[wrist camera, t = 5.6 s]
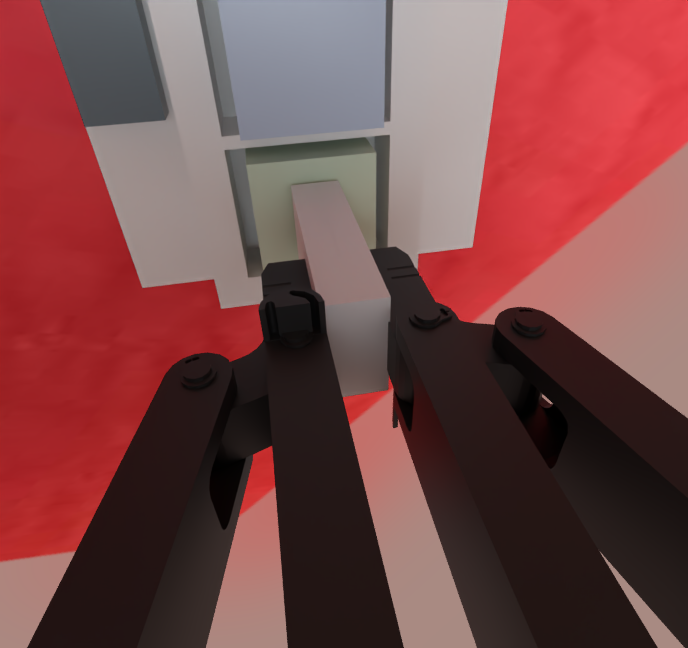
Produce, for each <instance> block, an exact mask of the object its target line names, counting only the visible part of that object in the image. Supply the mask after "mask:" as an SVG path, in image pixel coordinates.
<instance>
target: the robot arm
mask: <svg viewBox="0 0 688 648" xmlns="http://www.w3.org/2000/svg"><path fill="white" fill-rule="evenodd" d="M291 193H292V202H293V211H294V220H295V229H296V239H297V248H298V257H299V260H291V261H282V262H274V263H268V264H267V266H266V267H265V269H264V270H263V272H262V274H261V279H262V292H263V300H262V301H261V302H260V306H259V315H260V321H261V326H262V332H263V337H264V340H263V342H262V343H261V345H260V346H259V347H258V348H257V349H256V350H254V351H253V352H251V353H250V354H248V355H246V356H244V357H242V358H240V359H237V360H234V361H232V362H229V360H228V359H227V358H225V357H223V356H221V355H220V354H214V353H200V354H194V355H191V356H189V357H186V358H183V359H181V360H180V361H179V362H177V363H176V364H174V365H173V366H172V367H171V368H170V369H169V371H168V372H167V373H166V374H165V376H164V378H163V380H162V382H161V384H160V386H159V388H158V390H157V392H156V394H155V396H154V398H153V400H152V402H151V404H150V406H149V408H148V410H147V412H146V414H145V416H144V418H143V420H142V422H141V424H140V426H139V428H138V430H137V432H136V434H135V436H134V437H133V439H132V441H131V443H130V445H129V447H128V449H127V451H126V453H125V455H124V457H123V459H122V461H121V463H120V465H119V467H118V469H117V471H116V473H115V475H114V477H113V479H112V481H111V483H110V485H109V487H108V489H107V491H106V493H105V495H104V497H103V499H102V501H101V503H100V505H99V507H98V509H97V511H96V513H95V515H94V517H93V519H92V521H91V523H90V525H89V527H88V529H87V530H86V532H85V534H84V536H83V538H82V540H81V542H80V544H79V546H78V548H77V550H76V552H75V554H74V556H73V558H72V560H71V562H70V564H69V566H68V568H67V570H66V572H65V574H64V576H63V578H62V580H61V582H60V584H59V586H58V588H57V590H56V592H55V594H54V596H53V598H52V600H51V602H50V604H49V606H48V608H47V610H46V612H45V614H44V616H43V618H42V620H41V622H40V623H39V626H38V628H37V630H36V631H35V633H34V635H33V637H32V640H31V641H30V643H29V645H28V647H27V648H206V644H207V640H208V636H209V633H210V629H211V624H212V621H213V617H214V613H215V608H216V604H217V601H218V596H219V593H220V589H221V585H222V581H223V576H224V572H225V569H226V565H227V561H228V557H229V553H230V549H231V545H232V541H233V537H234V533H235V529H236V525H237V520H238V517H239V513H240V509H241V505H242V501H243V497H244V493H245V489H246V485H247V481H248V477H249V473H250V469H251V465H252V461H253V454H255V453H257V452H259V451H261V450H263V449H266V448H268V447H270V446H272V448H273V461H274V474H275V487H276V500H277V513H278V526H279V538H280V551H281V564H282V576H283V577H282V578H283V590H284V604H285V616H286V630H287V643H288V648H404V647H403V643H402V639H401V635H400V631H399V626H398V622H397V618H396V614H395V610H394V606H393V602H392V598H391V594H390V589H389V585H388V581H387V577H386V573H385V569H384V565H383V561H382V557H381V553H380V549H379V545H378V540H377V536H376V532H375V528H374V524H373V520H372V516H371V512H370V507H369V504H368V499H367V495H366V491H365V487H364V483H363V479H362V475H361V471H360V467H359V463H358V458H357V454H356V451H355V446H354V442H353V438H352V434H351V430H350V426H349V421H348V417H347V413H346V409H345V405H344V401H343V397H346V396H352V395H359V394H365V393H371V392H378V391H384V390H388V380H389V377H390V379H391V382H392V385H393V388H394V393H393V420H392V421H393V428H396V427H398V420H399V422H400V425H401V428H402V431H403V434H404V437H405V440H406V443H407V446H408V449H409V452H410V454H411V457H412V460H413V463H414V466H415V469H416V472H417V475H418V478H419V481H420V484H421V486H422V489H423V492H424V495H425V498H426V501H427V504H428V507H429V509H430V512H431V515H432V518H433V521H434V524H435V527H436V530H437V532H438V535H439V538H440V541H441V544H442V547H443V550H444V553H445V556H446V558H447V562H448V565H449V568H450V570H451V573H452V576H453V579H454V582H455V585H456V588H457V591H458V594H459V597H460V599H461V602H462V605H463V608H464V611H465V614H466V617H467V620H468V623H469V625H470V628H471V631H472V634H473V637H474V640H475V643H476V646H477V648H657V646H656V644H655V642H654V641H653V639H652V638H651V636H650V635H649V633H648V631H647V629H646V628H645V626H644V624H643V623H642V621H641V619H640V618H639V616H638V615H637V613H636V611H635V609H634V608H633V606H632V604H631V603H630V601H629V600H628V598H627V596H626V595H625V593H624V591H623V590H622V588H621V586H620V585H619V583H618V581H617V580H616V578H615V576H614V575H613V573H612V571H611V570H610V568H609V566H608V565H607V563H606V562H605V560H604V558H603V557H602V555H601V553H602V554H603V555H604V557H606V559H607V560H608V561H609V562H610V563H611V564H612V566H613V567H614V568H615V569H616V570H617V571H618V572H619V574H620V575H621V576H622V577H623V578H624V579H625V580H626V581H627V583H628V584H629V585H630V586H631V587H632V588H633V589H634V590H635V592H636V593H637V594H638V595H639V596H640V597H641V598H642V600H643V601H644V602H645V603H646V604H647V605H648V606H649V608H650V609H651V610H652V611H653V612H654V613H655V614H656V615H657V617H658V618H659V619H660V620H661V621H662V622H663V623H664V625H665V626H666V627H667V628H668V629H669V630H670V631H671V632H672V634H673V635H674V636H675V637H676V638H677V639H678V640H679V642H680V643H681V644H682V645H683V646H684V647H685V648H688V418H686V417H685V416H684V415H682V414H681V413H680V412H678V411H677V410H676V409H674V408H673V407H672V406H670V405H669V404H668V403H666V402H665V401H664V400H662V399H661V398H660V397H658V396H657V395H656V394H654V393H653V392H651V391H650V390H649V389H648V388H646V387H645V386H644V385H643V384H641V383H640V382H639V381H637V380H636V379H635V378H633V377H632V376H631V375H629V374H628V373H626V372H625V371H624V370H623V369H621V368H620V367H619V366H617V365H616V364H614V363H613V362H612V361H610V360H609V359H608V358H607V357H605V356H604V355H602V354H601V353H600V352H599V351H597V350H596V349H595V348H593V347H592V346H591V345H589V344H588V343H587V342H585V341H584V340H583V339H581V338H580V337H578V336H577V335H576V334H575V333H573V332H572V331H571V330H569V329H568V328H567V327H565V326H564V325H563V324H561V323H560V322H558V321H557V320H556V319H555V318H553V317H552V316H550V315H548V314H546V313H545V312H543V311H540V310H536V309H533V308H526V307H516V308H509V309H506V310H504V311H502V312H501V313H499V315H498V316H497V318H496V320H495V325H491V324H477V323H469V322H463V321H460V320H459V319H458V317H457V315H456V314H455V313H454V312H453V311H452V310H451V309H450V308H448V307H446V306H444V305H442V304H440V303H436V302H435V300H434V299H433V297H432V295H431V293H430V292H429V290H428V288H427V286H426V285H425V283H424V281H423V280H422V278H421V276H419V273H418V271H417V269H416V267H414V264H413V262H412V260H411V259H410V257H409V255H408V254H406V253H405V252H403V251H402V250H400V249H399V248H397V247H396V246H395V247H387V248H378V249H370V250H369V248H368V245H367V243H366V241H365V239H364V237H363V234H362V232H361V230H360V228H359V225H358V223H357V221H356V219H355V217H354V214H353V212H352V210H351V208H350V206H349V203H348V201H347V199H346V197H345V194H344V192H343V190H342V188H341V186H340V183H339V181H338V180H337V181H327V182H318V183H308V184H298V185H291ZM542 394H543V395H544V396H546V397H547V398H548V399H549V400H550V401H551V402H552V403H553V405H552V404H550V403H548V402H547V401H546V400H545V399H544V398H542ZM599 551H600V552H601V553H600V552H599Z"/></svg>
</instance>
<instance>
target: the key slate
mask: <svg viewBox="0 0 688 648" xmlns="http://www.w3.org/2000/svg"><path fill="white" fill-rule="evenodd" d="M217 1H218V7H219V13H220V19H221V25H222V31H223V37H224V43H225V50H226V56H227V62H228V68H229V74H230V80H231V86H232V92H233V98H234V104H235V110H236V116H237V122H238V128H239V134H240V140H241V141H243V140H254V139H265V138H276V137H287V136H298V135H309V134H320V133H331V132H342V131H353V130H364V129H375V128H384V100H385V27H386V0H217Z"/></svg>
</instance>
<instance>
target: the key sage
mask: <svg viewBox="0 0 688 648" xmlns="http://www.w3.org/2000/svg"><path fill="white" fill-rule="evenodd" d="M245 153H246V168H247V174H248V180H249V186H250V192H251V198H252V205H253V211H254V217H255V223H256V229H257V235H258V241H259V247H260V253H261V260H262V266H263V270H264V269H265V267H266V266H267V264H268V263H274V262H282V261H291V260H299V257H298V248H297V239H296V229H295V220H294V211H293V202H292V193H291V185H298V184H308V183H318V182H327V181H337V180H338V181H339V183H340V186H341V188H342V190H343V192H344V194H345V197H346V199H347V201H348V203H349V206H350V208H351V210H352V212H353V214H354V217H355V219H356V221H357V223H358V225H359V228H360V230H361V232H362V234H363V237H364V239H365V241H366V243H367V245H368V248H369V250H370V249H376V151H375V150H374V149H373V147H372V146H371V144H370V143H369V141H368V140H367V139H366V137H361V138H351V139H340V140H329V141H319V142H308V143H297V144H286V145H276V146H265V147H254V148H245Z"/></svg>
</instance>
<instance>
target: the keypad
mask: <svg viewBox="0 0 688 648" xmlns="http://www.w3.org/2000/svg"><path fill="white" fill-rule="evenodd" d="M40 2H41V5H42V7H43V10H44V13H45V16H46V19H47V22H48V24H49V27H50V30H51V33H52V36H53V38H54V41H55V44H56V47H57V50H58V53H59V55H60V58H61V61H62V64H63V67H64V70H65V72H66V75H67V78H68V81H69V84H70V86H71V89H72V92H73V95H74V98H75V101H76V103H77V106H78V109H79V112H80V115H81V118H82V120H83V123H84V126H85V127H86V130H87V132H88V135H89V138H90V141H91V144H92V147H93V149H94V152H95V155H96V158H97V161H98V164H99V166H100V169H101V172H102V175H103V178H104V181H105V183H106V186H107V189H108V192H109V195H110V198H111V200H112V203H113V206H114V209H115V212H116V215H117V217H118V220H119V223H120V226H121V229H122V231H123V234H124V237H125V240H126V243H127V246H128V248H129V251H130V254H131V257H132V260H133V263H134V265H135V268H136V271H137V274H138V277H139V280H140V282H141V285H142V288H146V287H155V286H163V285H171V284H179V283H187V282H195V281H203V280H211V279H214V280H215V285H216V289H217V293H218V297H219V301H220V305H221V309H224V308H232V307H239V306H247V305H254V304H260V302H261V301H262V300H263V292H262V279H261V274H262V272H263V266H262V260H261V253H260V247H259V241H258V235H257V229H256V223H255V217H254V211H253V205H252V198H251V192H250V186H249V180H248V174H247V168H246V153H245V148H254V147H265V146H276V145H286V144H297V143H308V142H319V141H329V140H340V139H351V138H361V137H366V139H367V140H368V141H369V143H370V144H371V146H372V147H373V149H374V150H375V151H376V249H378V248H387V247H395V246H396V247H397V248H399V249H400V250H402V251H403V252H405V253H406V254H408V255H409V257H410V259H411V260H412V262H413V264H414V267H416V269H417V268H418V254H422V253H430V252H438V251H446V250H454V249H462V248H470V247H473V240H474V233H475V226H476V219H477V212H478V205H479V198H480V191H481V184H482V177H483V170H484V163H485V156H486V149H487V142H488V135H489V128H490V121H491V114H492V107H493V100H494V93H495V87H496V80H497V73H498V66H499V59H500V52H501V45H502V38H503V31H504V24H505V17H506V10H507V3H508V0H386V27H385V100H384V128H375V129H364V130H353V131H342V132H331V133H320V134H309V135H298V136H287V137H276V138H265V139H254V140H243V141H241V140H240V134H239V128H238V122H237V116H236V110H235V104H234V98H233V92H232V86H231V80H230V74H229V68H228V62H227V56H226V50H225V43H224V37H223V31H222V25H221V19H220V13H219V7H218V1H217V0H40Z"/></svg>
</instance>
